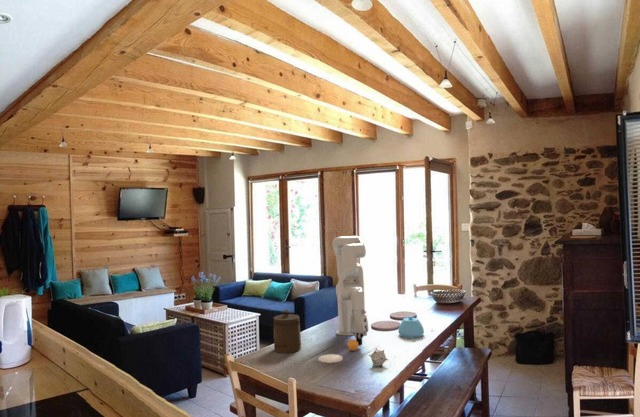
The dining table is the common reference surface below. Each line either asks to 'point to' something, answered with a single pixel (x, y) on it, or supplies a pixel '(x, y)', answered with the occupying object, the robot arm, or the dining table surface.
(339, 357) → the cream disc
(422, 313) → the dining table surface
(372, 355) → the game die
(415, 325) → the sugar bowl
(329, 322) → the dining table surface
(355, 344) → the ball
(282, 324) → the wooden container
